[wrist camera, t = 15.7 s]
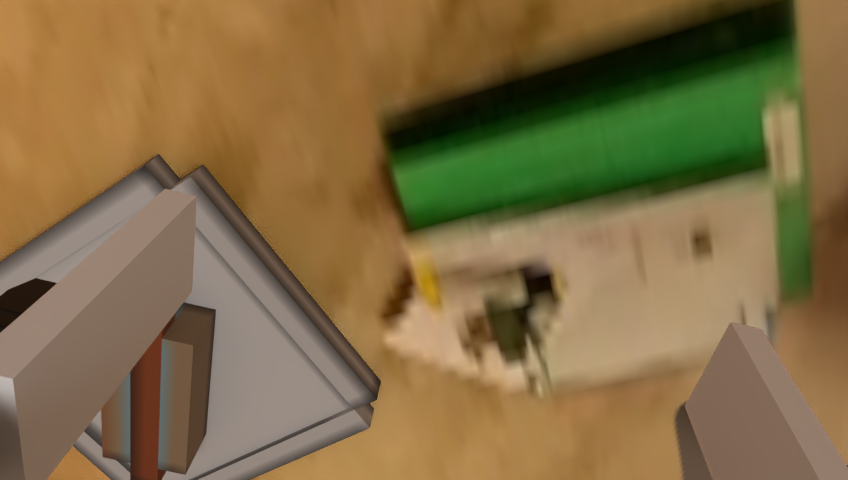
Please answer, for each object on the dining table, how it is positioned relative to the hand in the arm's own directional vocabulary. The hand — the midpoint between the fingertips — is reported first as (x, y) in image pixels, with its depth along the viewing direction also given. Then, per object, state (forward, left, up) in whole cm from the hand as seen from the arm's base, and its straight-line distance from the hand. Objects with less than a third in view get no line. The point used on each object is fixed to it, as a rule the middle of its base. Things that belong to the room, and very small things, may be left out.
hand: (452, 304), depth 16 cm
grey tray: (+21, +33, -34) cm, 52 cm away
